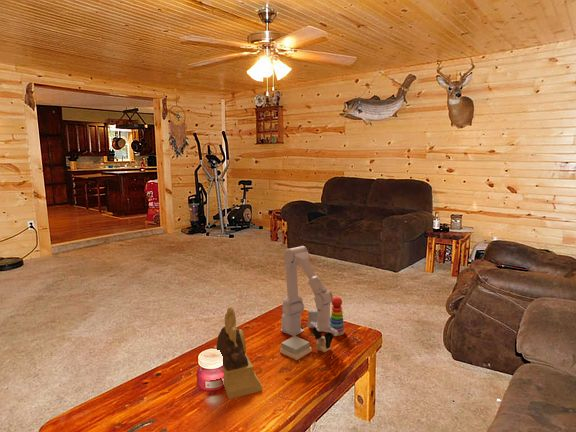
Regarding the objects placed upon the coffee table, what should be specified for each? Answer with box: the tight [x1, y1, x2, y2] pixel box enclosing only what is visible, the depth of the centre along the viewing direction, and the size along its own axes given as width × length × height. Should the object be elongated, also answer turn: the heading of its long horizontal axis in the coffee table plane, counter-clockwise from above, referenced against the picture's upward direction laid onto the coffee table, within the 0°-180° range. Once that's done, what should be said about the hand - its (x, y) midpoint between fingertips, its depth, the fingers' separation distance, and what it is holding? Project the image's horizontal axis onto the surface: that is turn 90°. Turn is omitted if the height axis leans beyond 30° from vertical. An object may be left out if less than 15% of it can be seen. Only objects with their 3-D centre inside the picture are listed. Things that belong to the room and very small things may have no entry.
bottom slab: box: [279, 346, 313, 361], centre depth 176 cm, size 10×10×2 cm
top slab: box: [280, 335, 311, 355], centre depth 176 cm, size 9×9×2 cm
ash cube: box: [315, 335, 332, 353], centre depth 177 cm, size 5×5×5 cm
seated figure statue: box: [213, 306, 263, 400], centre depth 156 cm, size 28×13×30 cm, turn 22°
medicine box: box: [307, 308, 317, 329], centre depth 200 cm, size 8×4×9 cm, turn 84°
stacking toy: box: [330, 296, 346, 337], centre depth 192 cm, size 8×8×19 cm
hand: (323, 345), depth 177 cm, fingers closed on ash cube, 5 cm apart
